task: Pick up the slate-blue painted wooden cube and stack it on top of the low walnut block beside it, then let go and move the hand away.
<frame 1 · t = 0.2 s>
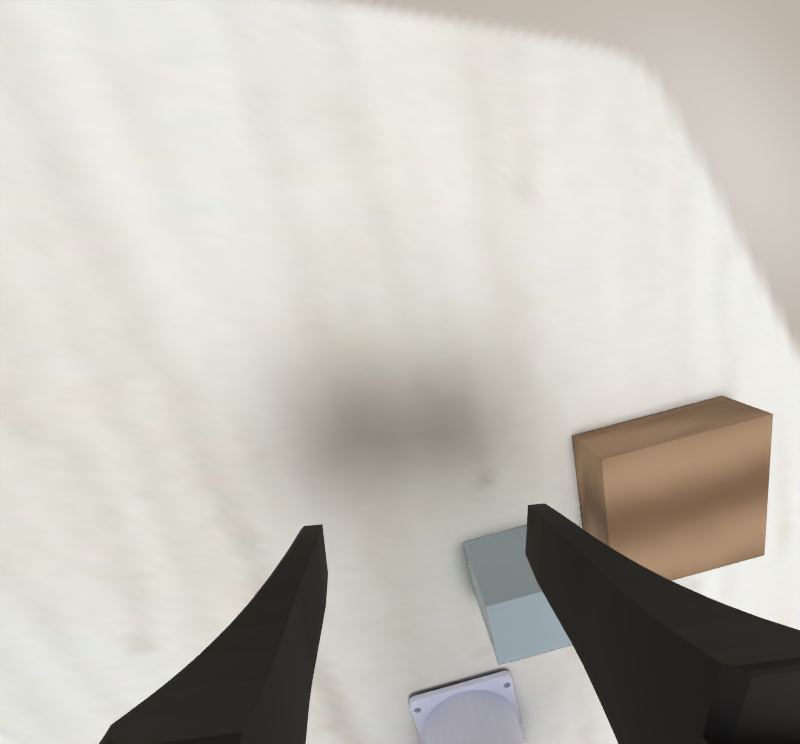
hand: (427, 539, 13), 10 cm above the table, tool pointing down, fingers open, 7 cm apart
walnut block: (651, 482, 25), on the table
slate cube: (499, 559, 26), on the table
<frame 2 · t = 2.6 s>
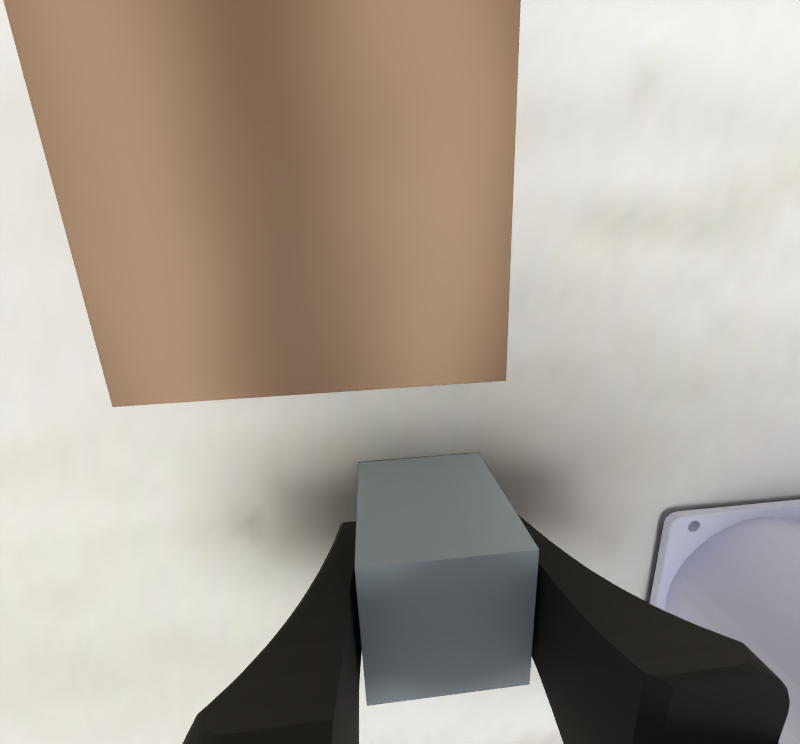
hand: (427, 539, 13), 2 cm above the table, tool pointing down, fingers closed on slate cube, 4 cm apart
walnut block: (312, 202, 11), on the table
slate cube: (420, 509, 14), on the table, touching gripper
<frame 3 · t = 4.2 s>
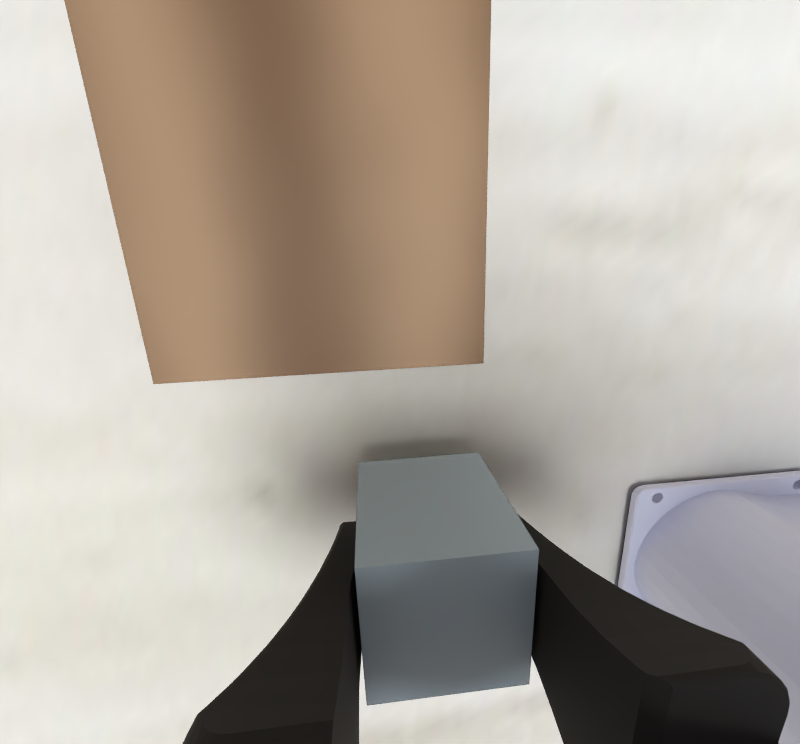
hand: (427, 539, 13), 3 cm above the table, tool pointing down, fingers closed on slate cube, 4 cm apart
walnut block: (319, 212, 13), on the table
slate cube: (420, 509, 14), point 2 cm above the table, touching gripper
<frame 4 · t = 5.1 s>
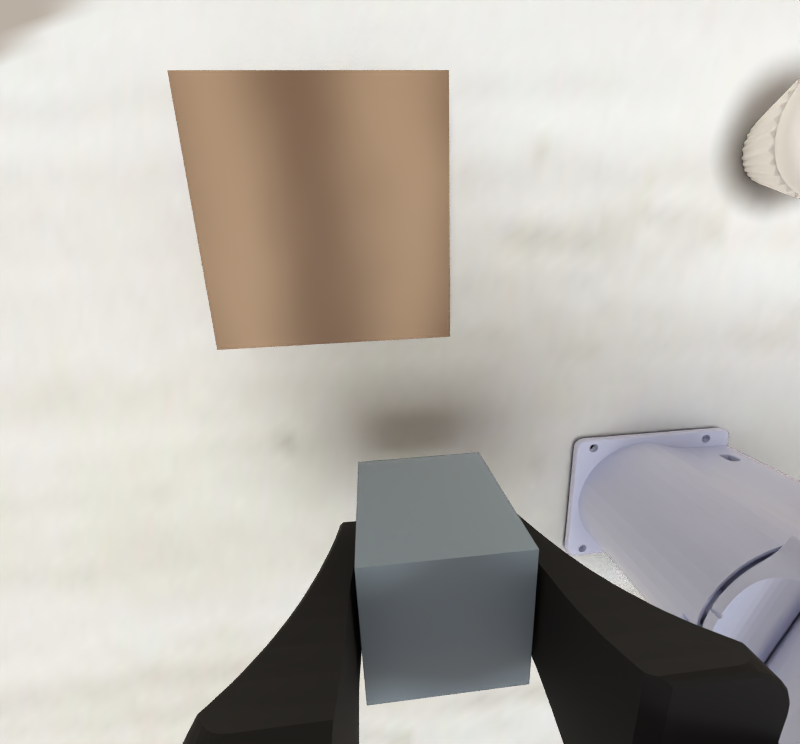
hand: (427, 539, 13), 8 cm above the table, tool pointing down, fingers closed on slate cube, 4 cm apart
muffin: (766, 150, 19), on the table
walnut block: (331, 227, 18), on the table
slate cube: (420, 509, 14), point 7 cm above the table, touching gripper
when the fingers open (6 cm above the table, at t = 7.6 s): slate cube drops 1 cm, resting on walnut block.
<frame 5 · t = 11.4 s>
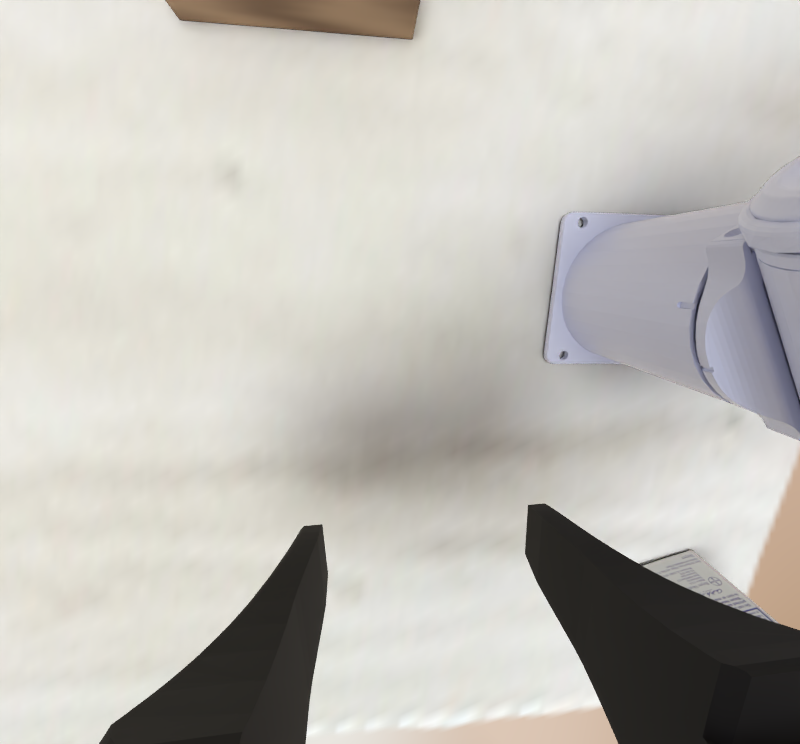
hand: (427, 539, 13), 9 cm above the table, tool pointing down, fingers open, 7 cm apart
medicine box: (663, 594, 28), on the table
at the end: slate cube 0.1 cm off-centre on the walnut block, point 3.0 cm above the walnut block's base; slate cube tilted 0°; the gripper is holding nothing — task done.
